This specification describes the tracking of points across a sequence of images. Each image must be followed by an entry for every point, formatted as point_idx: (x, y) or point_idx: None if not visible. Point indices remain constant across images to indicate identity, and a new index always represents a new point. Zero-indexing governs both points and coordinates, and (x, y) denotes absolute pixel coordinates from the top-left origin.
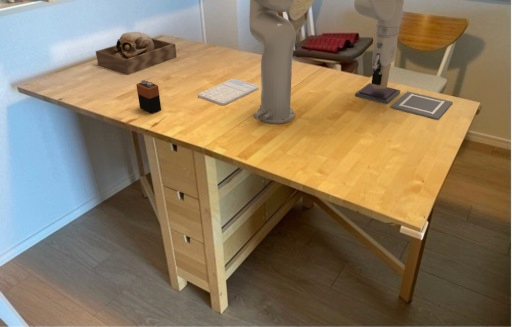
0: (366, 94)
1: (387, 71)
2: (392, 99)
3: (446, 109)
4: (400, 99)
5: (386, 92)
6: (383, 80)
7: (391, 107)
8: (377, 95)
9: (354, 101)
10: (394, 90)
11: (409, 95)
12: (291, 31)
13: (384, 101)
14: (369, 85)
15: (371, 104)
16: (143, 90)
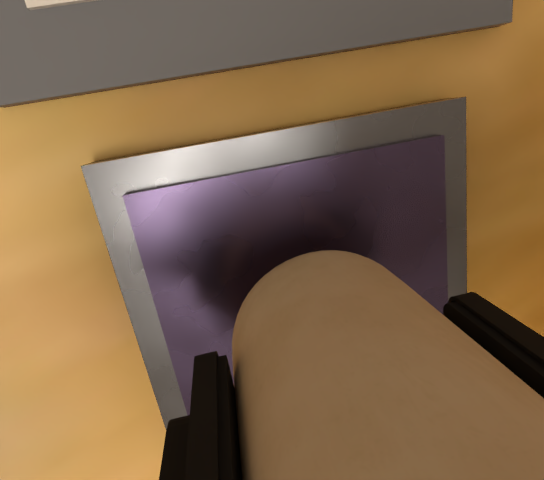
0: None
1: (508, 408)
2: (303, 124)
3: None
4: (285, 32)
5: (293, 225)
6: (439, 313)
7: (502, 10)
8: (428, 240)
9: (537, 324)
10: (173, 196)
11: (89, 12)
12: None
13: (460, 127)
14: None
15: (519, 200)
16: None
